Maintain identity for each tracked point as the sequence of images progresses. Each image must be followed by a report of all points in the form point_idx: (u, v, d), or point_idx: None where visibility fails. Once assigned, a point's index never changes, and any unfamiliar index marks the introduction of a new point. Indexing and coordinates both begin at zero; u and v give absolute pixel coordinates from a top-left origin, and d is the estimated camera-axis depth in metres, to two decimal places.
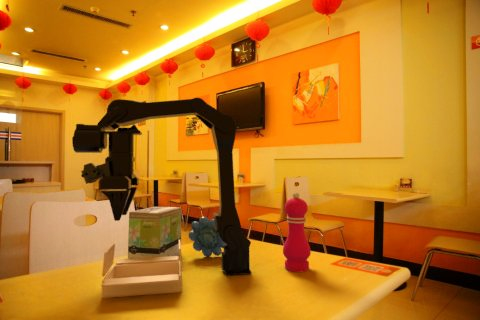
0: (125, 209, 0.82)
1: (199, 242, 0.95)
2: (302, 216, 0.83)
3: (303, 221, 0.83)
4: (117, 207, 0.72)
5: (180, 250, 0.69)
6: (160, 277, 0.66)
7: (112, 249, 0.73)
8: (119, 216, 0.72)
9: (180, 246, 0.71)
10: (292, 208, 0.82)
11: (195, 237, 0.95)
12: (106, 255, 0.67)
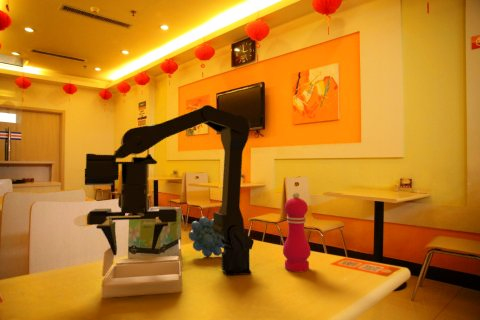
0: (152, 247, 0.72)
1: (199, 242, 0.95)
2: (302, 216, 0.83)
3: (303, 221, 0.83)
4: None
5: (180, 250, 0.69)
6: (160, 277, 0.66)
7: None
8: None
9: (180, 246, 0.71)
10: (292, 208, 0.82)
11: (195, 237, 0.95)
12: (106, 255, 0.67)
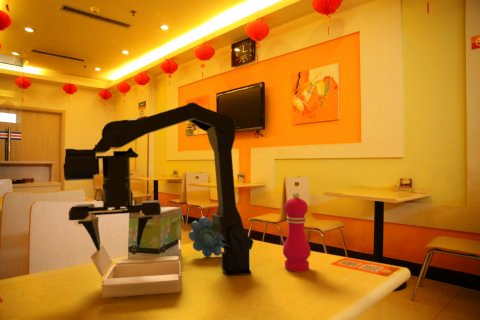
0: (137, 241, 0.72)
1: (199, 242, 0.95)
2: (302, 216, 0.83)
3: (303, 221, 0.83)
4: None
5: (180, 250, 0.69)
6: (160, 277, 0.66)
7: (102, 251, 0.73)
8: None
9: (180, 246, 0.71)
10: (292, 208, 0.82)
11: (195, 237, 0.95)
12: (94, 257, 0.66)
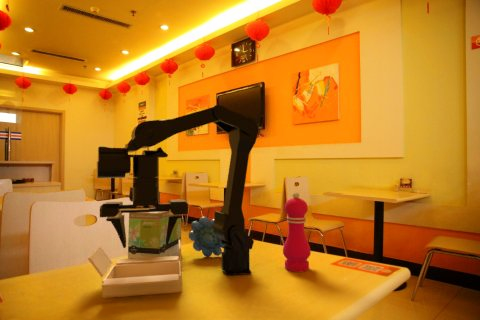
0: (166, 239, 0.73)
1: (199, 242, 0.95)
2: (302, 216, 0.83)
3: (303, 221, 0.83)
4: None
5: (180, 250, 0.69)
6: (160, 277, 0.66)
7: (99, 252, 0.72)
8: None
9: (180, 246, 0.71)
10: (292, 208, 0.82)
11: (195, 237, 0.95)
12: (91, 259, 0.66)
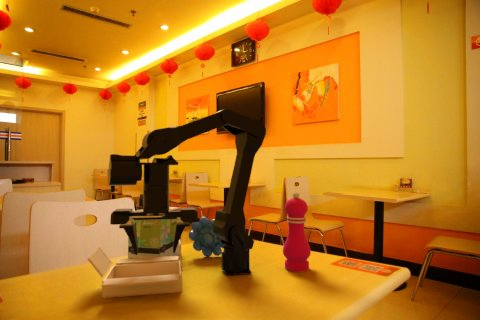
0: (173, 247, 0.73)
1: (199, 242, 0.95)
2: (302, 216, 0.83)
3: (303, 221, 0.83)
4: None
5: (180, 250, 0.69)
6: (160, 277, 0.66)
7: (99, 252, 0.72)
8: None
9: (180, 246, 0.72)
10: (292, 208, 0.82)
11: (195, 237, 0.95)
12: (91, 259, 0.66)
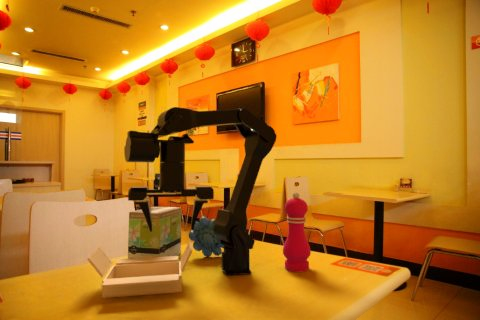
0: (191, 224, 0.74)
1: (199, 242, 0.95)
2: (302, 216, 0.83)
3: (303, 221, 0.83)
4: None
5: (191, 252, 0.70)
6: (160, 277, 0.66)
7: (99, 253, 0.72)
8: (149, 227, 0.72)
9: None
10: (292, 208, 0.82)
11: (195, 237, 0.95)
12: (90, 259, 0.66)
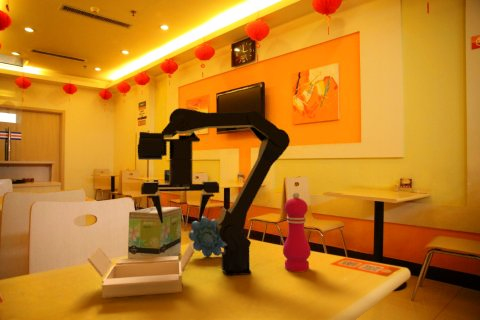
0: None
1: (199, 242, 0.95)
2: (302, 216, 0.83)
3: (303, 221, 0.83)
4: None
5: (193, 253, 0.70)
6: (160, 277, 0.66)
7: (99, 253, 0.72)
8: (160, 219, 0.79)
9: (193, 249, 0.72)
10: (292, 208, 0.82)
11: (195, 237, 0.95)
12: (90, 259, 0.66)
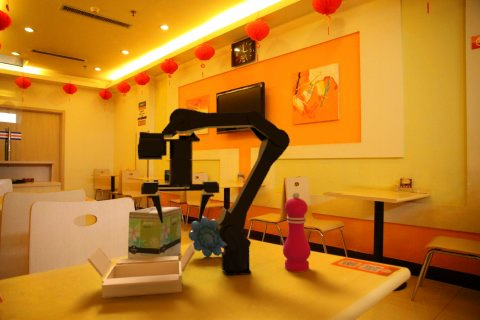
0: None
1: (199, 242, 0.95)
2: (302, 216, 0.83)
3: (303, 221, 0.83)
4: None
5: (193, 253, 0.70)
6: (160, 277, 0.66)
7: (99, 253, 0.72)
8: (160, 219, 0.79)
9: None
10: (292, 208, 0.82)
11: (195, 237, 0.95)
12: (90, 259, 0.66)
